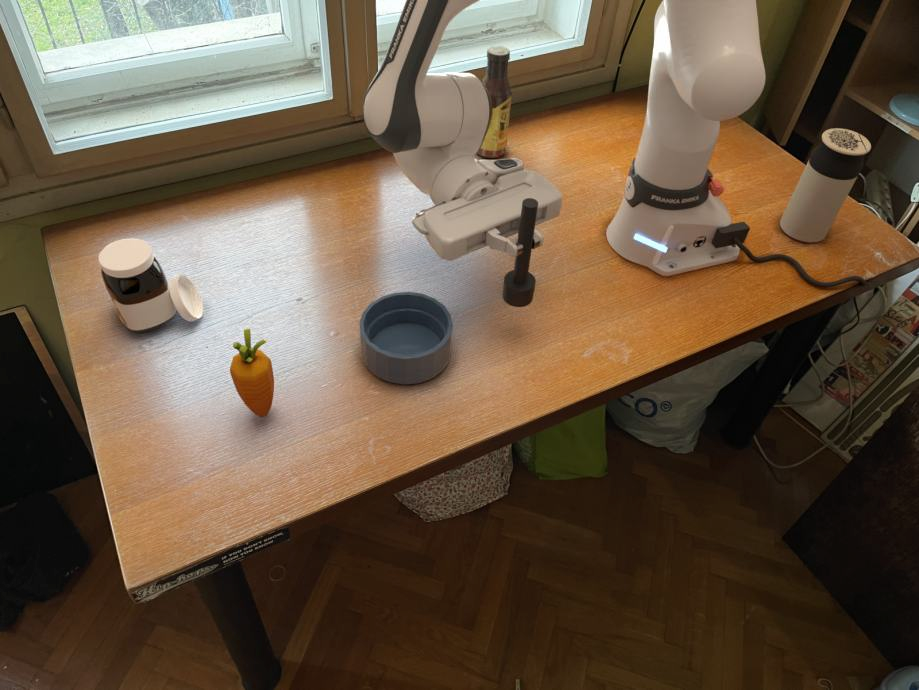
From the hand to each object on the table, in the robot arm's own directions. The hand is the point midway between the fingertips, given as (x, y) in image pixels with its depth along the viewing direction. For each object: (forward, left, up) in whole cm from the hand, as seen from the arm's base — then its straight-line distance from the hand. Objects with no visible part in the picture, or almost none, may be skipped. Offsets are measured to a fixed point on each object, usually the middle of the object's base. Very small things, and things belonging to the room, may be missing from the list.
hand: (529, 247), depth 94 cm
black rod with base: (0, -1, -10) cm, 10 cm away
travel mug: (-57, -20, -17) cm, 62 cm away
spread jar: (+51, -11, -17) cm, 55 cm away
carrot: (+36, +10, -17) cm, 42 cm away
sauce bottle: (-6, -50, -17) cm, 53 cm away
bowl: (+16, +1, -17) cm, 24 cm away
